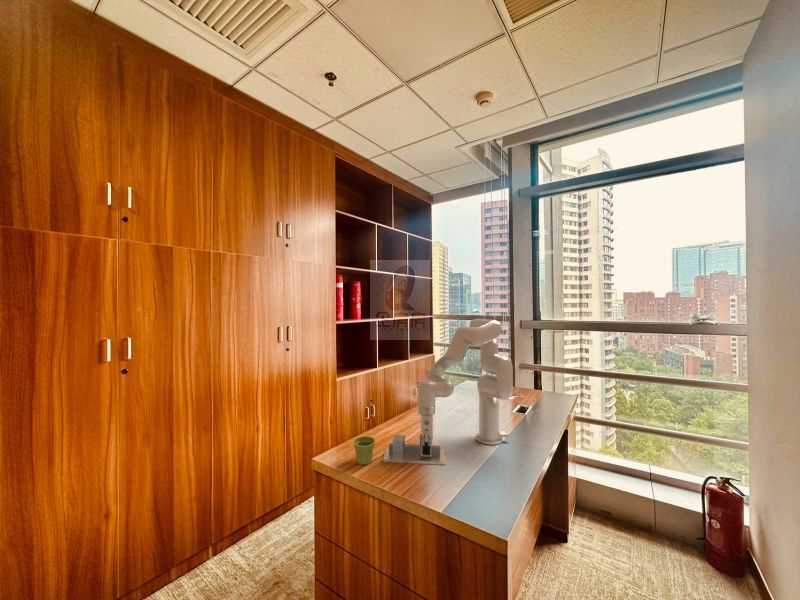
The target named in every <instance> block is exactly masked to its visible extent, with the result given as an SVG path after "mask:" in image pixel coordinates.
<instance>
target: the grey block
mask: <svg viewBox="0 0 800 600" xmlns="http://www.w3.org/2000/svg"><path fill="white" fill-rule="evenodd" d="M424 438H425V436H424ZM428 438H429V436H428ZM424 441H425V439H424ZM432 441H433V439H430V455H423V454H422V450H423V438H422V436H421V434H419V445H421V456H429V457H431V445H433V444H432V443H433V442H432Z"/></svg>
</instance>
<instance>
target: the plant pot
mask: <svg viewBox="0 0 800 600" xmlns="http://www.w3.org/2000/svg"><path fill="white" fill-rule="evenodd" d="M352 444H353V447H354V450H355V451H354V452H355V457H356V463H357V464H358V465H362V466H363V465H369V464H371V463H372V458H373V453H374V447H375V444H376V439H375V438H374V437H372V436H370V435H369V436H367V435H366V436H365V435H361V436H358V437H356V438H354V439H353V440H352Z"/></svg>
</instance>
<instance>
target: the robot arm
mask: <svg viewBox="0 0 800 600" xmlns="http://www.w3.org/2000/svg"><path fill="white" fill-rule="evenodd" d="M502 327H503V326H502V324H501V322H500V321H498V320H495V319H487V318H485V319H484V318H474V319H472V320H471V321H470V322H469V325H468V326H459V327H457V329H456V330H455V332H454V334H453V337H452V338H451V341H450V343H449V344H448V348H447V349H446V352H445V354H444V355H442V356H441V357H440V358H439V359H438V360H437V361H436V362H435V363H434V364H433V365H432V366H431V367H430V370H429V372H428V374H427V377H426V378H425V379H420V380H419V381H418V384H417V386H418V388H417V395H418V396H417V413H418V415H420V435H421V436H422V438H423V450H422V454H423V455H430V439H432V440H433V439H434V416H435V414H436V399H437V398H448V397H450V396H451V395H452V394H453V393H454V388H455V387H454V384H453V383H452V381H450V380H449V379H445V378H442V377H443V375H444V373H446V371H447V370H448V369H450V368H452V367H455V366H457V365H461V364H462V363H463V361H464V359H465V357H466V355H467V353H468V350H469V348H470V347H474V348H475V347H480V351H479V352H480V353H479V354H480V356H479V357H480V358H479V359H480V369H481V370H482V371H483V372H486V373H489V374H482V375H480V376H479V378H478V379H477V383H476V387H477V392H478V402H479V403H478V407H479V408H478V433H476V434H475V439H476V441H477V442H479V443H481V444H483V445H488V446H496V445H500V444H502V443H503V438H510V433H508V432H507V433H506V432H505V431H500V401H499V400H503V401H504V400H509V399H510V398H511V396H512V394H513V388H514V387H513V385H514V382H513V381H514V380H513V379H514V376H513V375H514V374H513V373H514V371H513V370H514V368H513V363H512V360H511V359H510V357H508V356H506V355H501V354H500V353H499V343H498V338H499V336H501V334H502V331H503V328H502ZM424 436H425V438H424ZM428 436H429V438H428ZM424 439H425V441H424Z"/></svg>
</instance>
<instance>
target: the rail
mask: <svg viewBox="0 0 800 600" xmlns="http://www.w3.org/2000/svg"><path fill="white" fill-rule="evenodd" d="M382 462H383V463H399V464H415V465H416V464H419V465H423V464H424V465H436V466H437V465H438V466H439V465H441V466H446V458H445V450H444V449H441V445H433V444H431V457H429V456H421V445H420V444H411V443H410V444H409V443H407V444H406V435H404V434H393V438H392V443H389V444H388V446H387V447H386V448H385V451H384V454H383V459H382Z"/></svg>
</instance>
